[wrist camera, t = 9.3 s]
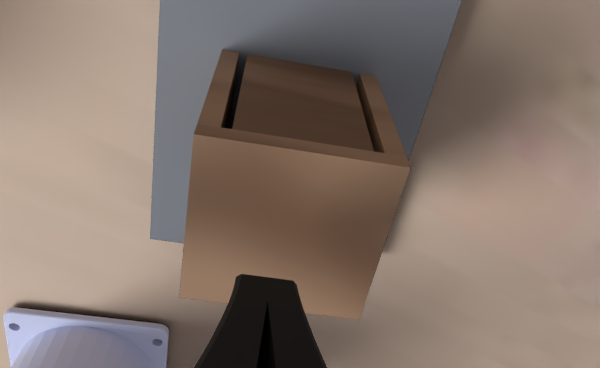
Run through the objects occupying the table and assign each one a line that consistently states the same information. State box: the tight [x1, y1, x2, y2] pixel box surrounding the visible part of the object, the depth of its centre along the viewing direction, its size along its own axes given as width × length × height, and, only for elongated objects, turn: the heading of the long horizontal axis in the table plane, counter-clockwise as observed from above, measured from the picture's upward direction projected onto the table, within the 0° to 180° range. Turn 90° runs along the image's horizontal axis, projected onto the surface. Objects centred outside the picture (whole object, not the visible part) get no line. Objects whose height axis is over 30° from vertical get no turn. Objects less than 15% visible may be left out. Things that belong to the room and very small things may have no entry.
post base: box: [150, 0, 462, 243], centre depth 19 cm, size 12×10×5 cm
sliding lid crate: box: [179, 49, 411, 320], centre depth 18 cm, size 6×6×7 cm
